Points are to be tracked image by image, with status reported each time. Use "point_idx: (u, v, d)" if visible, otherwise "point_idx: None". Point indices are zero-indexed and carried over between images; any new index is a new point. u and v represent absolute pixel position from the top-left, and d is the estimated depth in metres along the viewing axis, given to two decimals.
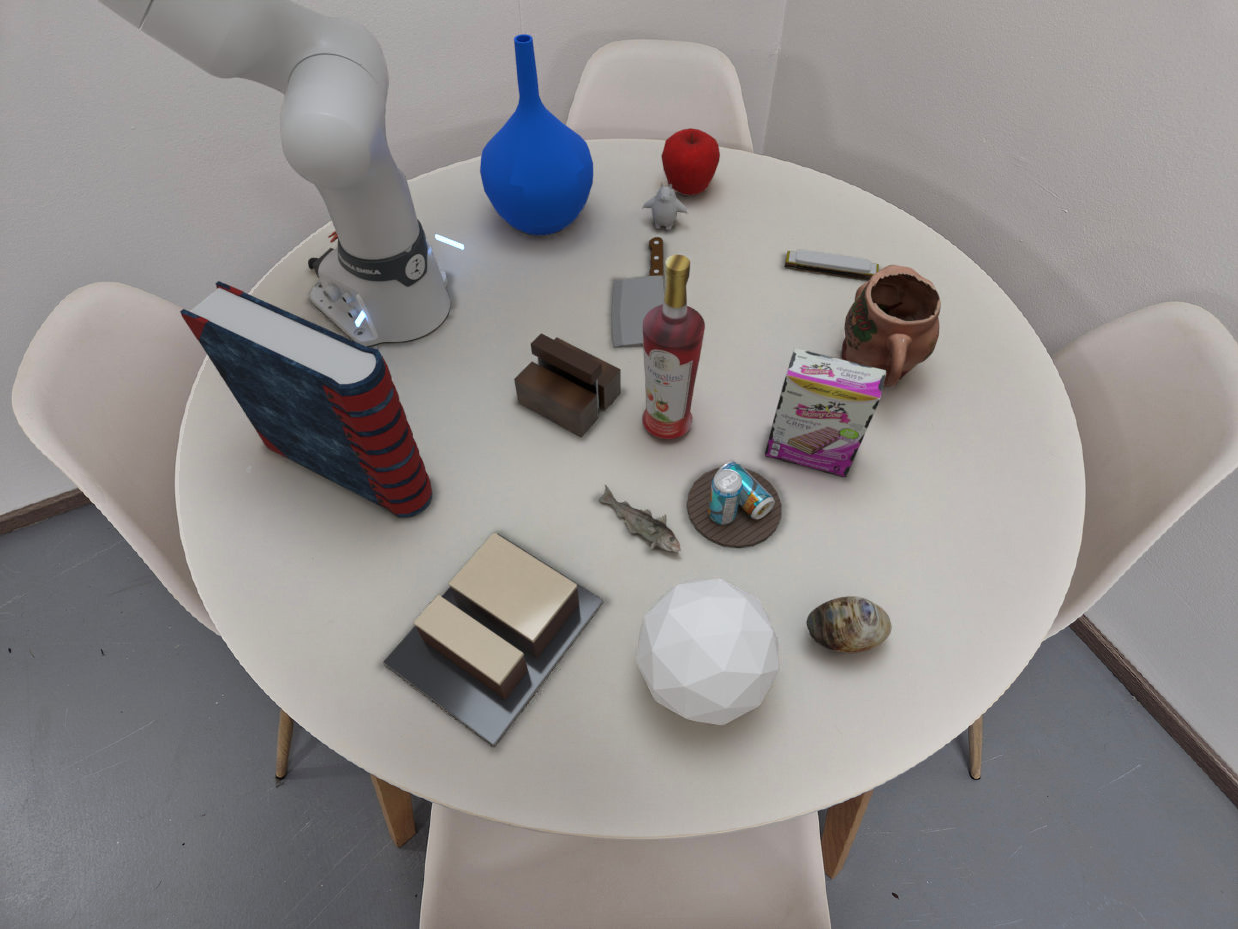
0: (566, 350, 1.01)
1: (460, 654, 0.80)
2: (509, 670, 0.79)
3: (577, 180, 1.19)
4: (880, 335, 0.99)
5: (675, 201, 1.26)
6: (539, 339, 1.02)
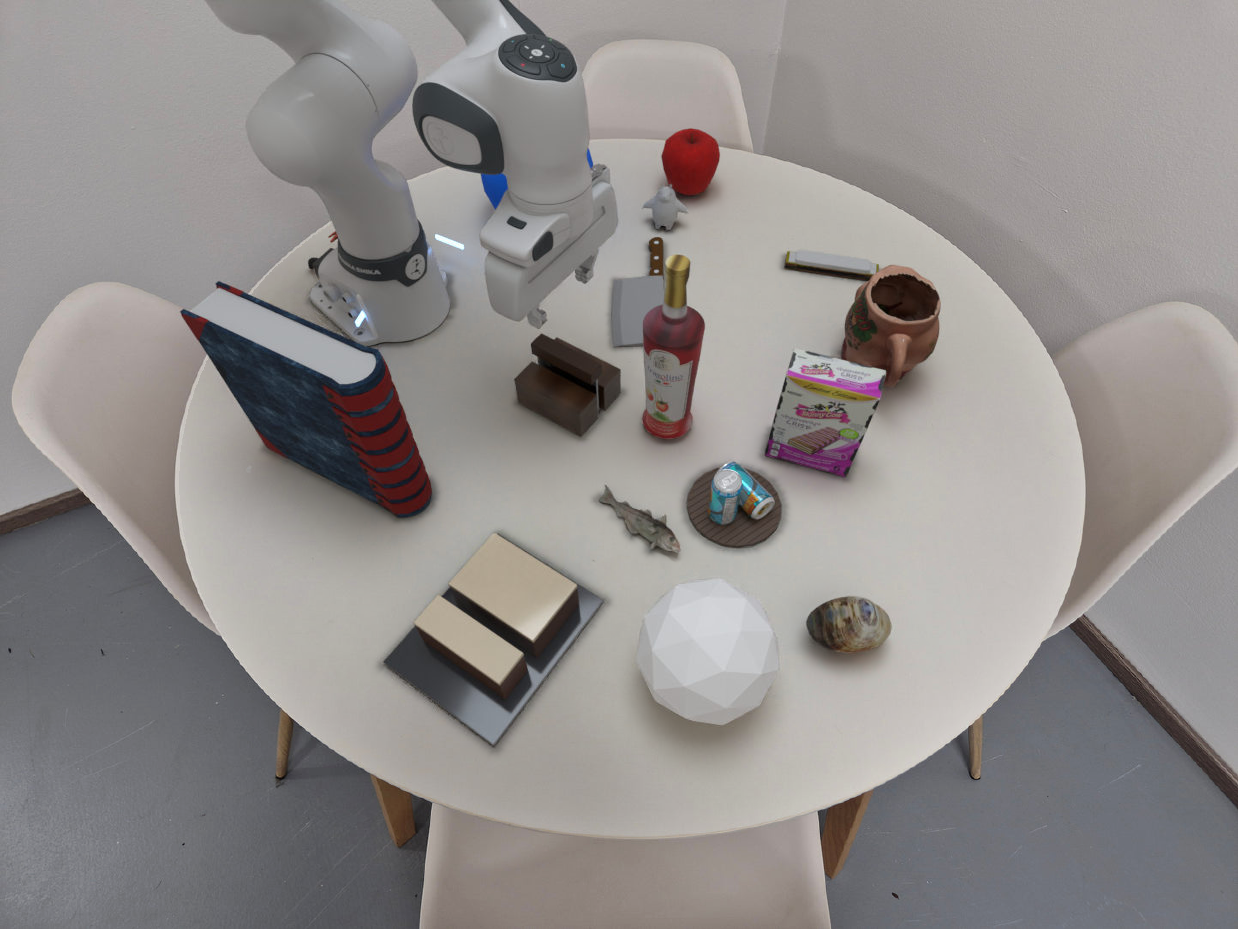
0: (566, 350, 1.01)
1: (460, 654, 0.80)
2: (509, 670, 0.79)
3: None
4: (880, 335, 0.99)
5: (675, 201, 1.26)
6: (539, 339, 1.02)
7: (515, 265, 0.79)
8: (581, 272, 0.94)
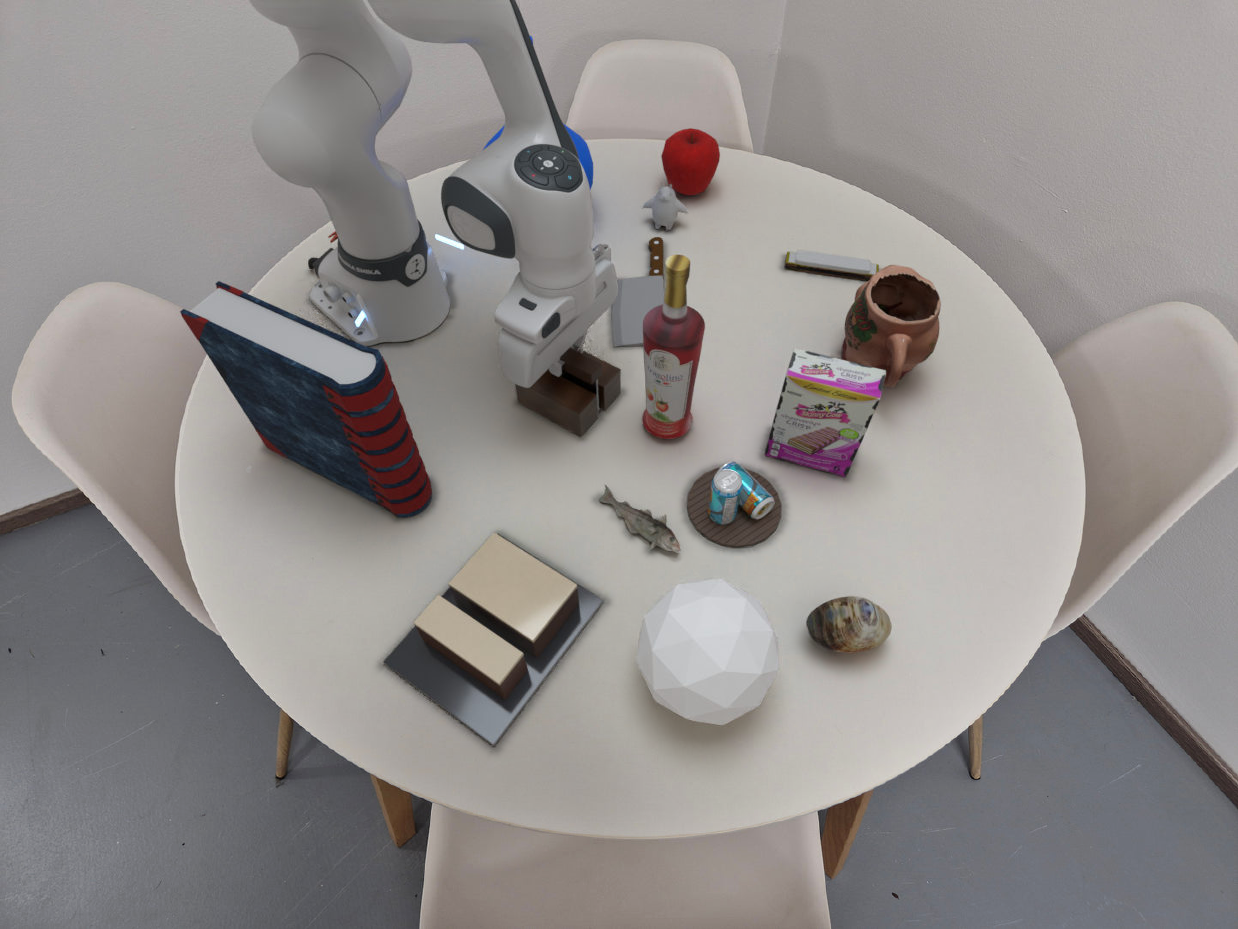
0: None
1: (460, 654, 0.80)
2: (509, 670, 0.79)
3: None
4: (880, 335, 0.99)
5: (675, 201, 1.26)
6: None
7: (526, 341, 0.88)
8: None
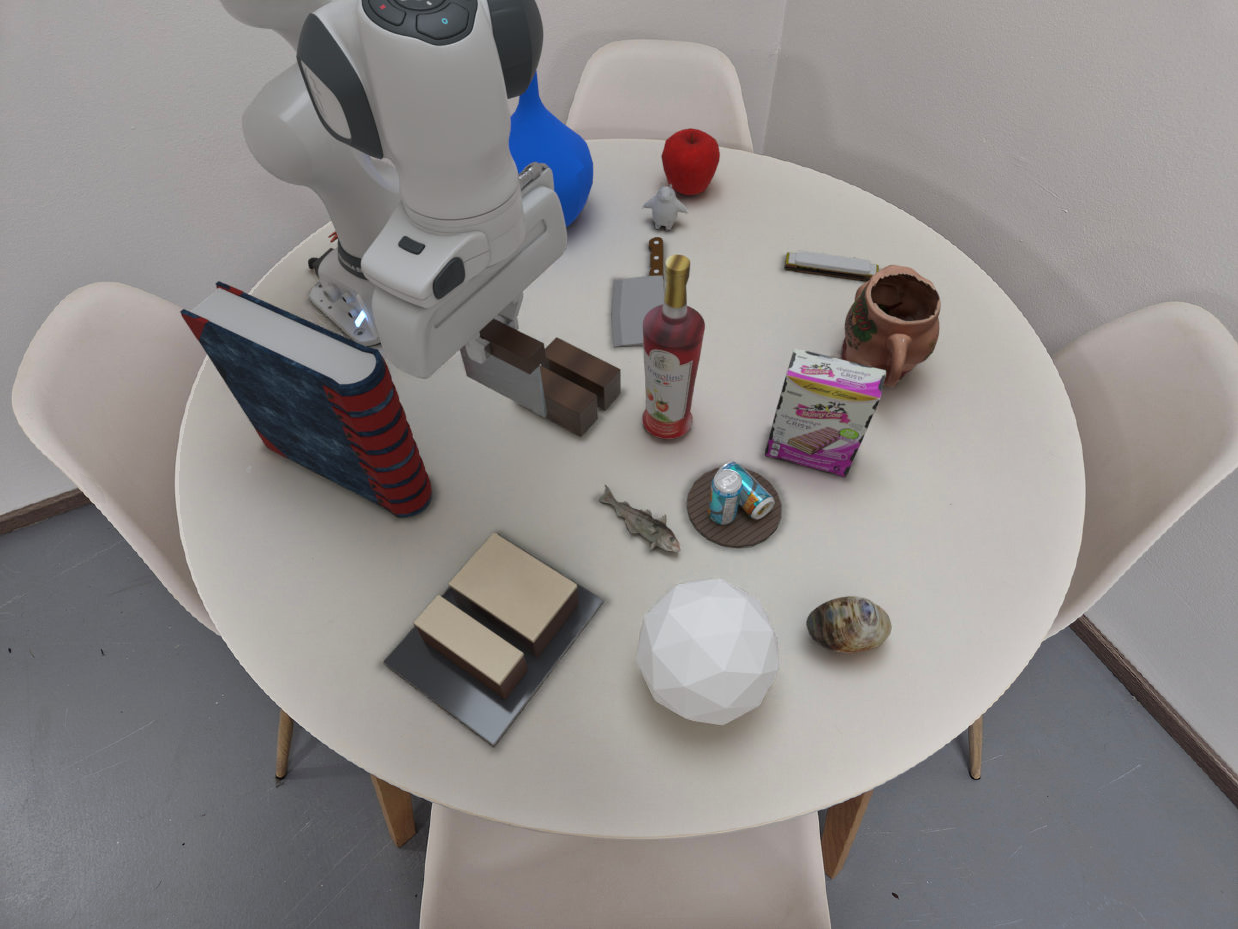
0: (493, 325, 0.69)
1: (460, 654, 0.80)
2: (509, 670, 0.79)
3: (577, 180, 1.19)
4: (880, 335, 0.99)
5: (675, 201, 1.26)
6: None
7: (411, 305, 0.56)
8: None
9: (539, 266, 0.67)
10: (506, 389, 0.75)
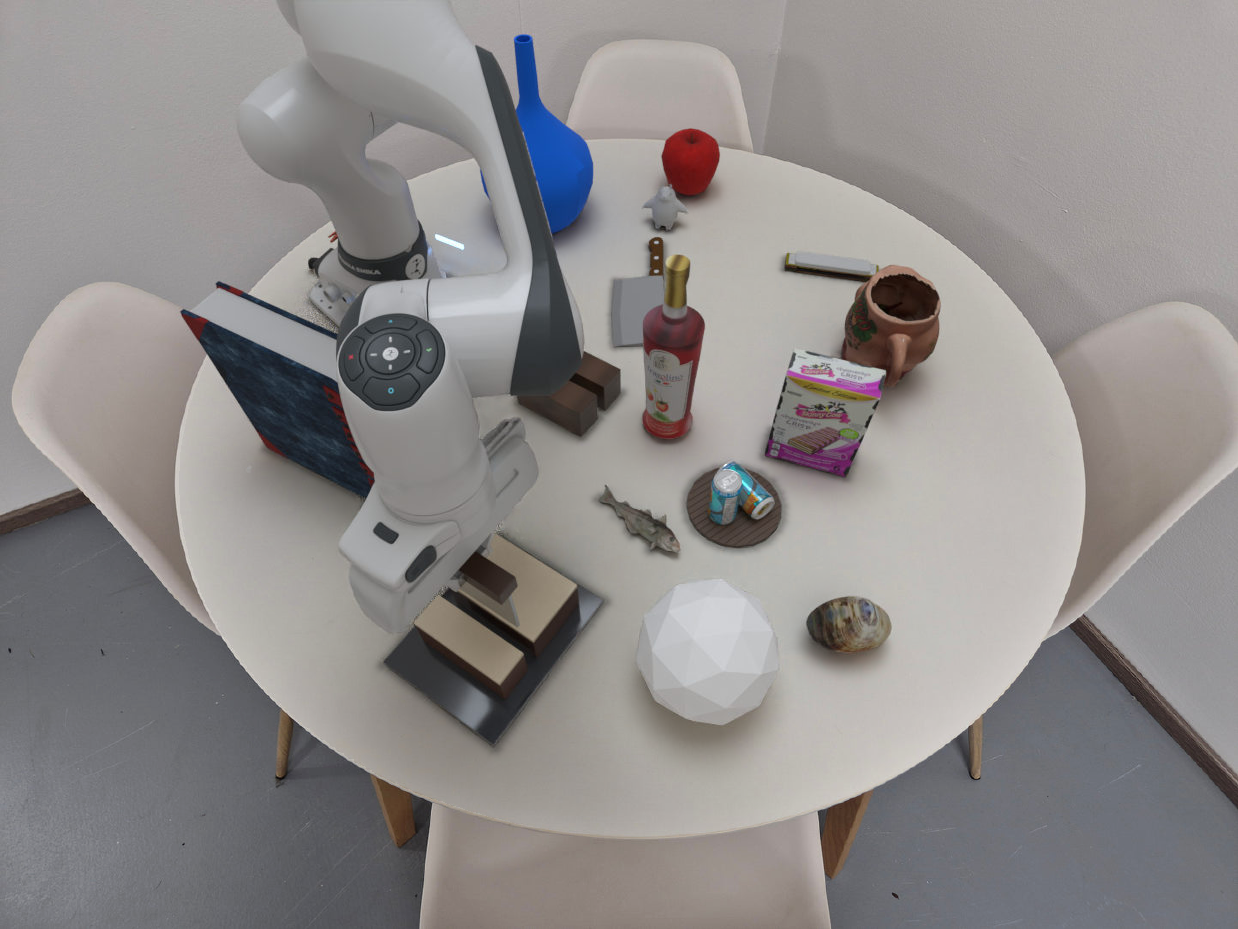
0: None
1: (460, 654, 0.80)
2: (509, 670, 0.79)
3: (577, 180, 1.19)
4: (880, 335, 0.99)
5: (675, 201, 1.26)
6: None
7: None
8: None
9: (511, 504, 0.71)
10: (481, 598, 0.78)
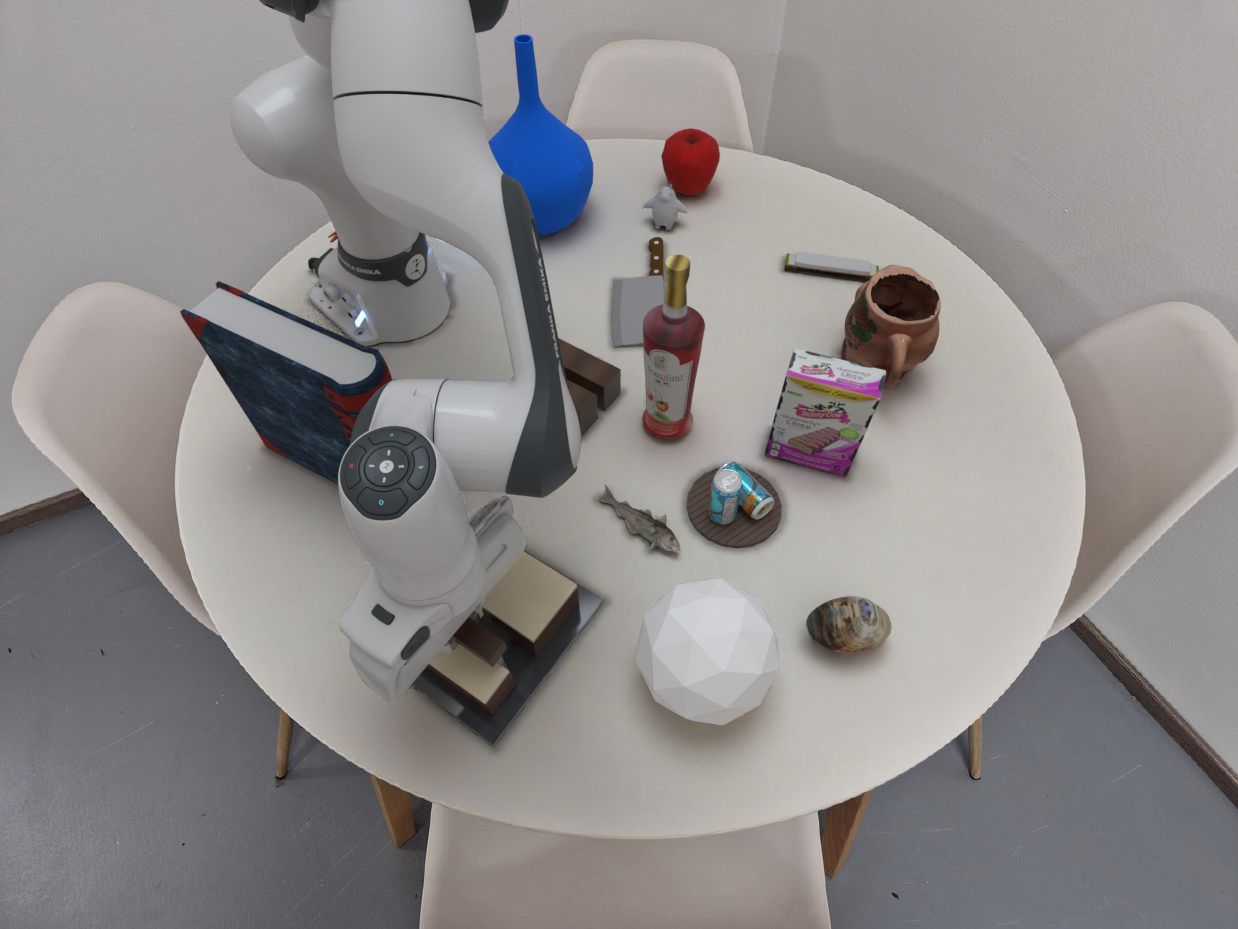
0: None
1: (445, 673, 0.79)
2: (494, 689, 0.78)
3: (577, 180, 1.19)
4: (880, 335, 0.99)
5: (675, 201, 1.26)
6: None
7: None
8: None
9: (500, 574, 0.76)
10: None
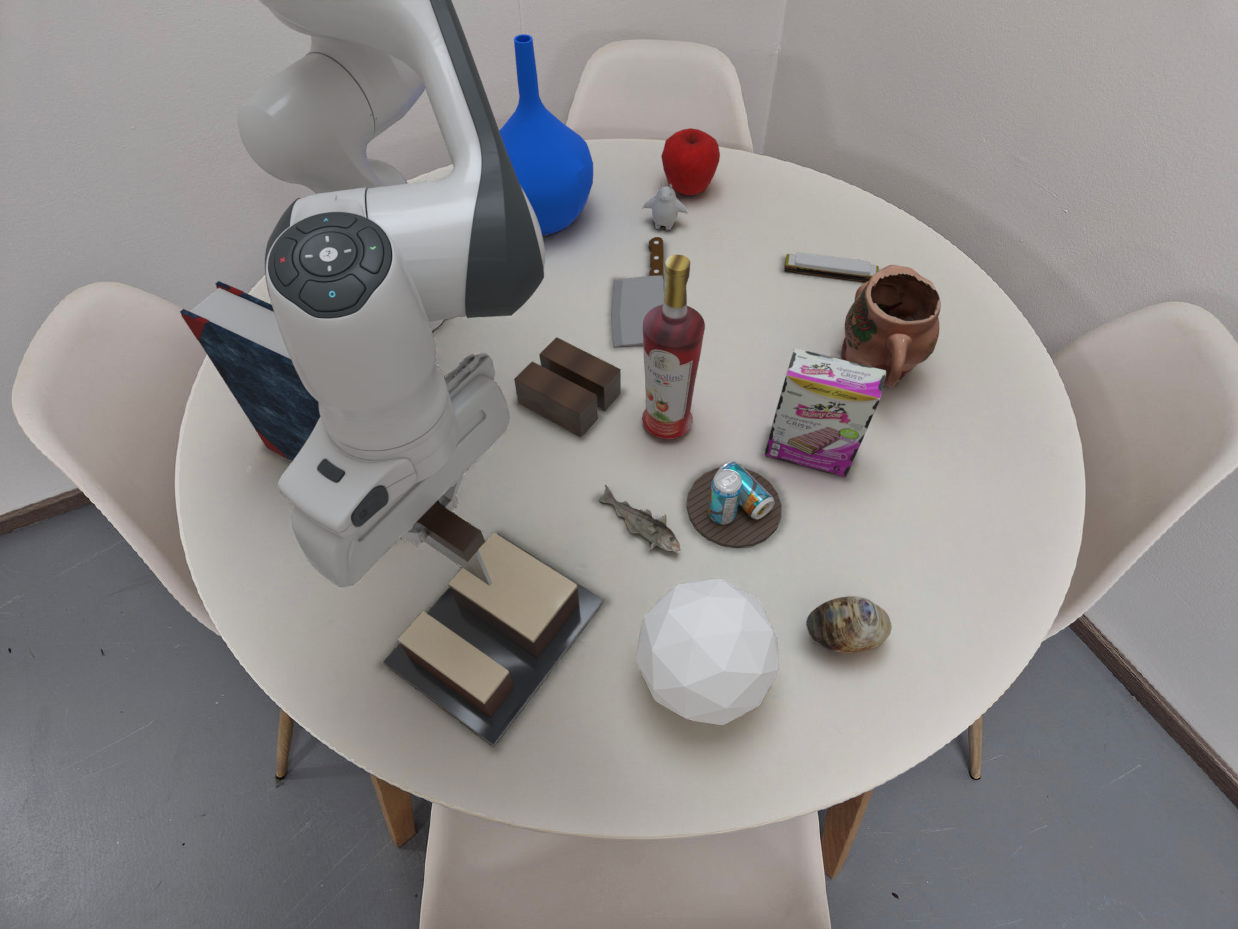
0: (430, 507, 0.66)
1: (444, 672, 0.79)
2: (494, 689, 0.78)
3: (577, 180, 1.19)
4: (880, 335, 0.99)
5: (675, 201, 1.26)
6: None
7: None
8: (439, 503, 0.67)
9: (478, 450, 0.65)
10: (450, 555, 0.72)
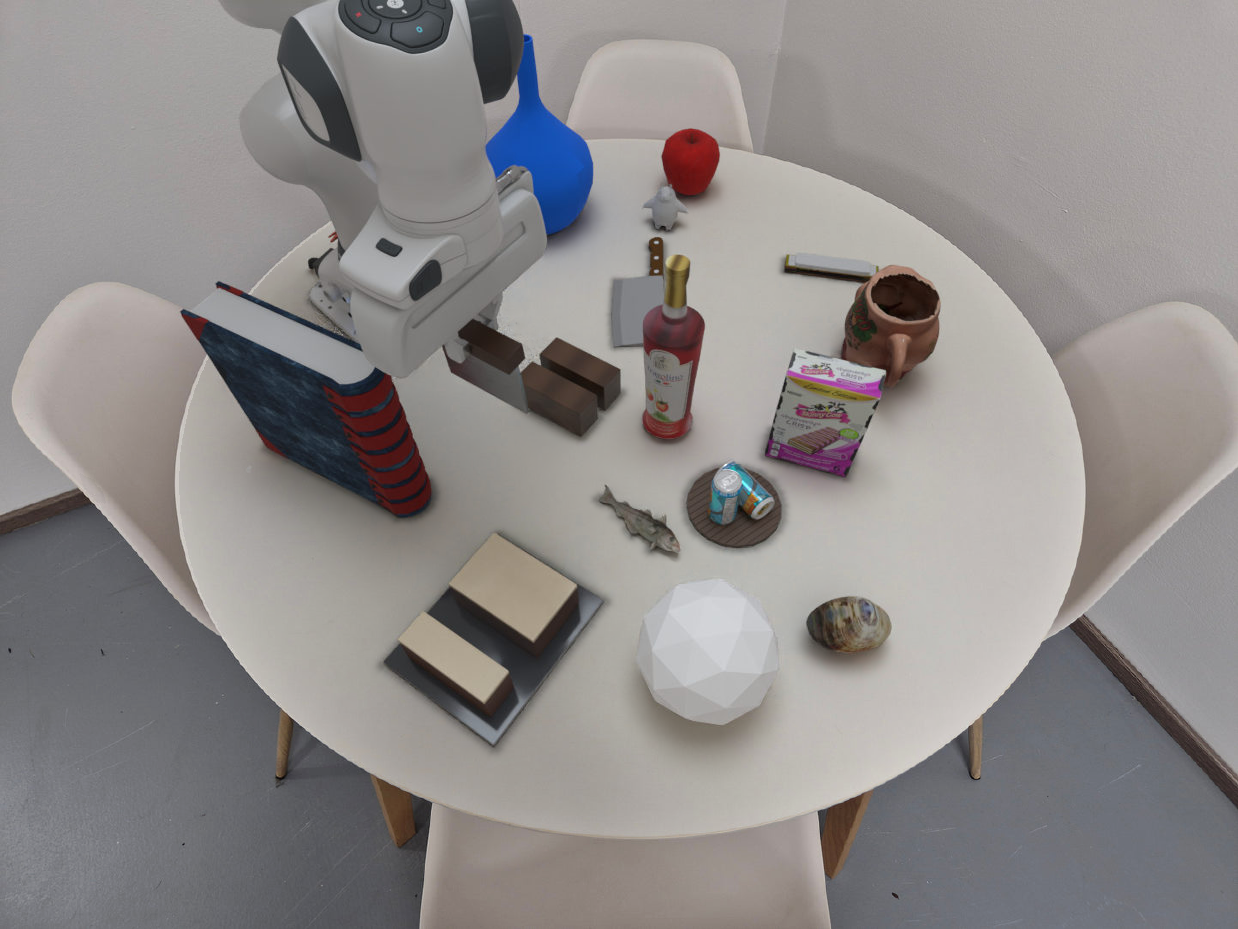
0: (473, 325, 0.70)
1: (444, 672, 0.79)
2: (494, 689, 0.78)
3: (577, 180, 1.19)
4: (880, 335, 0.99)
5: (675, 201, 1.26)
6: None
7: (389, 306, 0.57)
8: None
9: (518, 267, 0.68)
10: (489, 386, 0.76)
